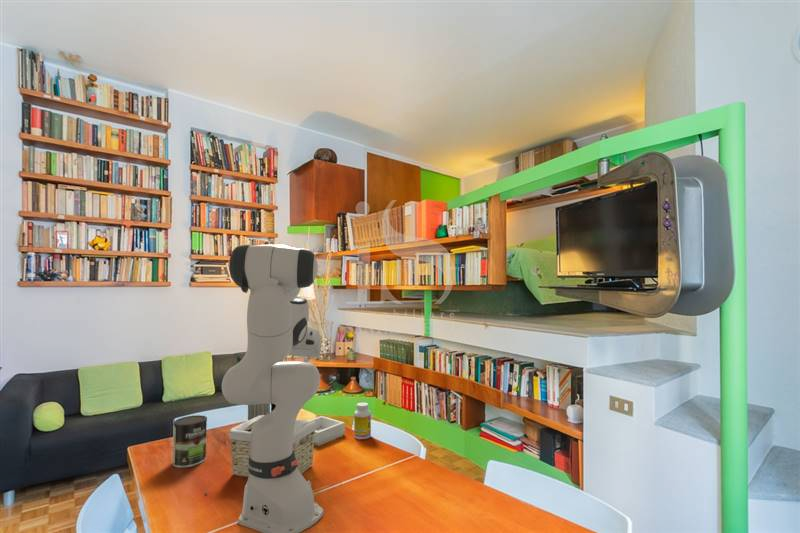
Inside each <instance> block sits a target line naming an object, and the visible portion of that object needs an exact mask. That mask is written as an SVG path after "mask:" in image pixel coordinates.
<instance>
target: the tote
mask: <svg viewBox="0 0 800 533" xmlns="http://www.w3.org/2000/svg"><path fill="white" fill-rule="evenodd" d="M308 421H315V422H316V430H315V437H314V446H316V447H319V446H322V445H325V444H327V443H330V442H331V441H335V440H336V438H337V439H339V438H341V437H343V435H344V436H345V434H346V433H345V432H346V430H345V429H346V427H345V426H346V425H345V424H346V422H344V421H341V420H337V419H334V418H331V417H327V416H323V415H320V416H317V417H315V418H312V419H308ZM338 437H339V438H338ZM329 441H330V442H329Z"/></svg>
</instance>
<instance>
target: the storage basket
mask: <svg viewBox="0 0 800 533" xmlns="http://www.w3.org/2000/svg"><path fill="white" fill-rule="evenodd" d="M263 416H264V415H260V416H257V417H255V418H253V419H251V420H248V419H247V420H246V421H244V422H242V423H240V424H238V425H235V426H234V427H232V428H230V430H229V434H228V439H229V440H230V456H231V459H230V460H231V461H230V462H231V468H232V474H233V475H234V476H238V477H244V478H249V474H250V473H249V471H248V461H249V456H250V450H251V432H248V431H247V430H249V429H252V427H253V425H254V423H255V422H256V421H257V420H259V419H260V418H262V417H263ZM308 420H309V419H308ZM308 420H307V419H300V418H296V420H295V424H294V432H293V450H294V453H295V456H296V460H298V459H299V461H297V463H298V464H297V468H298V470H299V471H300V473H301V474H302V475H303V473H305V471H307V470H308V469H309V468H310V467H312V465H313V460H314V458H313V457H314V451H315V450H314V447H315V445H314V437H315V430H316V422H315V421H308Z"/></svg>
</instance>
